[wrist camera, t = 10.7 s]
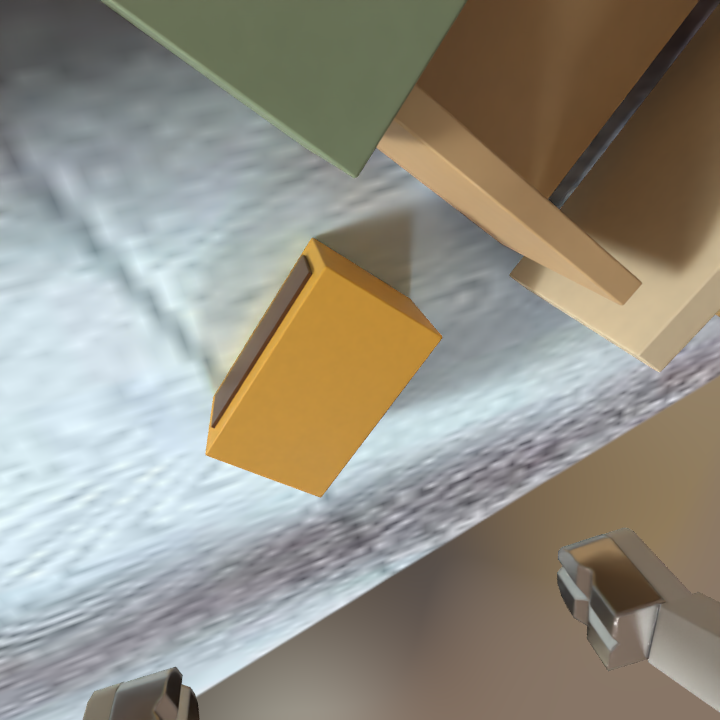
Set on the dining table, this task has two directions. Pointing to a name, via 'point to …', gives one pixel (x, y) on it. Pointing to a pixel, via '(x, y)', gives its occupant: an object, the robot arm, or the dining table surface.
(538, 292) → the drawer
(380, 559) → the dining table surface
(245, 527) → the dining table surface
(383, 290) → the matchbox
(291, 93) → the cabinet
